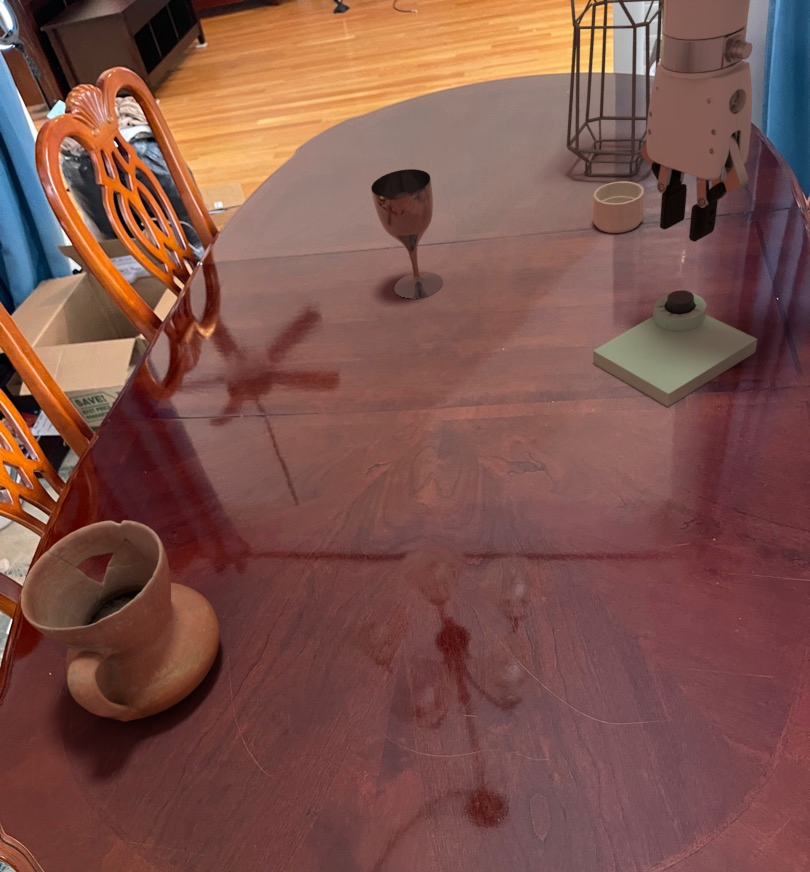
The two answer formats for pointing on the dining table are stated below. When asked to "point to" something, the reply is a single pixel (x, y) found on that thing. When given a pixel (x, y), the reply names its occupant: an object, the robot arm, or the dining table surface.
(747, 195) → the dining table surface
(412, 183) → the wine glass
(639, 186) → the bowl
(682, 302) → the button
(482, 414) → the dining table surface
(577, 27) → the geometric lantern
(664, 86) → the robot arm
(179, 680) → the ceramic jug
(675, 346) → the scale
